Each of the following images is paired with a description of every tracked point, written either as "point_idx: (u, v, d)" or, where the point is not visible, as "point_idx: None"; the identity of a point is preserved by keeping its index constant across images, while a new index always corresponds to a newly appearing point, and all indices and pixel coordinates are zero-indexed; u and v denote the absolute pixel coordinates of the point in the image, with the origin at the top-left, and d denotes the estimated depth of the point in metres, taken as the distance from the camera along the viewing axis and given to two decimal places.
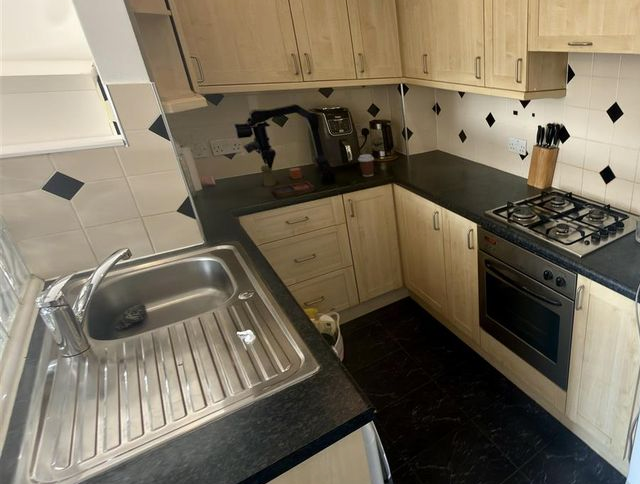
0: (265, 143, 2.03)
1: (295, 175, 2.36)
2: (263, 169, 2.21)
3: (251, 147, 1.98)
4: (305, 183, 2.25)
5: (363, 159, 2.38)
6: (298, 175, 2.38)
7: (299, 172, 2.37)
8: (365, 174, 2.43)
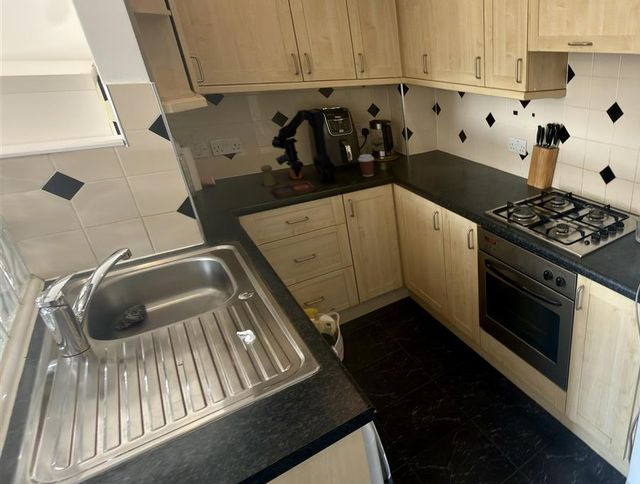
0: (294, 156, 2.33)
1: (295, 175, 2.36)
2: (263, 169, 2.21)
3: (282, 160, 2.28)
4: (305, 183, 2.25)
5: (363, 159, 2.38)
6: None
7: None
8: (365, 174, 2.43)
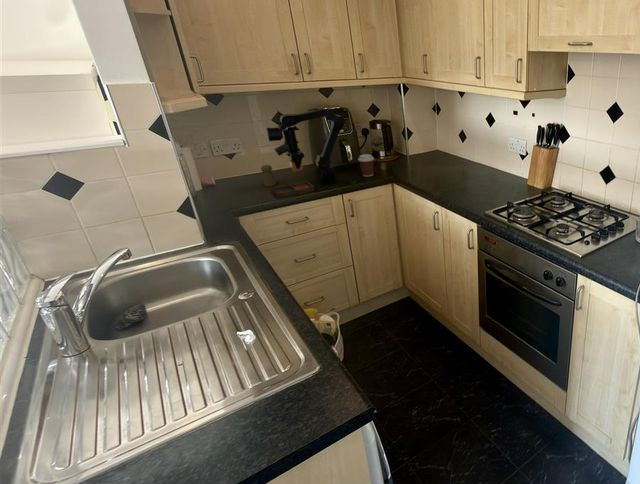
0: (294, 146, 2.13)
1: (295, 166, 2.17)
2: (263, 169, 2.21)
3: (282, 150, 2.09)
4: (305, 183, 2.25)
5: (363, 159, 2.38)
6: None
7: (300, 164, 2.18)
8: (365, 174, 2.43)
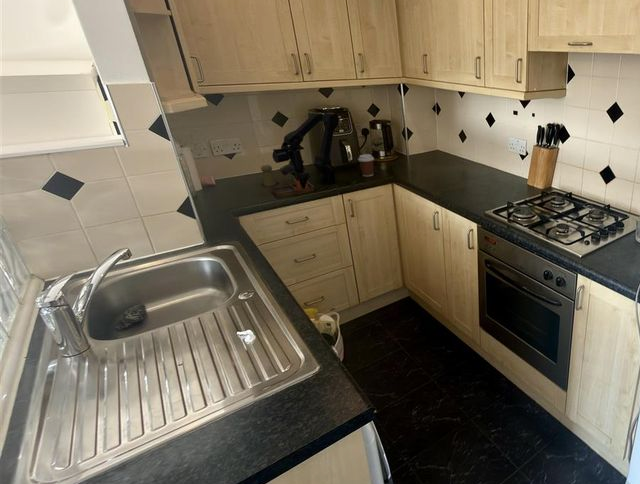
0: (300, 165, 2.13)
1: (300, 186, 2.17)
2: (263, 169, 2.21)
3: (287, 170, 2.08)
4: None
5: (363, 159, 2.38)
6: None
7: None
8: (365, 174, 2.43)
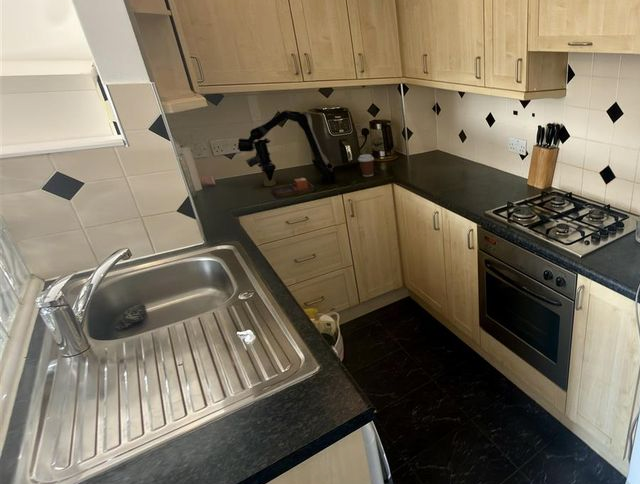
0: (266, 157, 2.19)
1: (300, 186, 2.17)
2: None
3: (253, 162, 2.15)
4: None
5: (363, 159, 2.38)
6: (304, 186, 2.18)
7: (305, 183, 2.18)
8: (365, 174, 2.43)
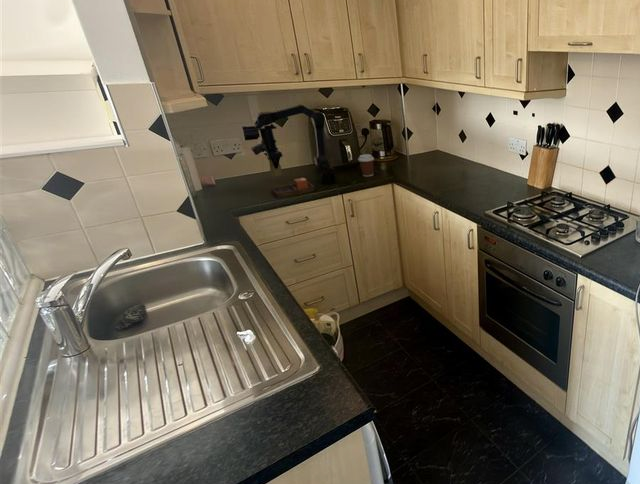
0: (272, 145, 2.07)
1: (300, 186, 2.17)
2: None
3: (258, 149, 2.02)
4: None
5: (363, 159, 2.38)
6: (304, 186, 2.18)
7: (305, 183, 2.18)
8: (365, 174, 2.43)
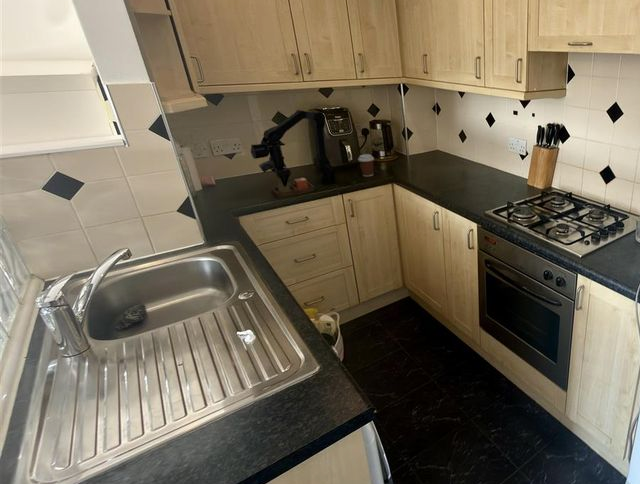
0: (280, 162, 2.06)
1: (300, 186, 2.17)
2: None
3: (267, 166, 2.02)
4: None
5: (363, 159, 2.38)
6: (304, 186, 2.18)
7: (305, 183, 2.18)
8: (365, 174, 2.43)
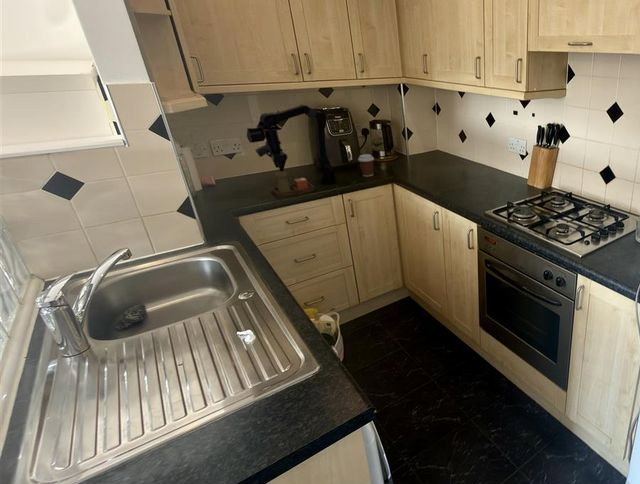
0: (277, 146, 2.03)
1: (300, 186, 2.17)
2: (278, 175, 2.09)
3: (263, 151, 1.99)
4: None
5: (363, 159, 2.38)
6: (304, 186, 2.18)
7: (305, 183, 2.18)
8: (365, 174, 2.43)
